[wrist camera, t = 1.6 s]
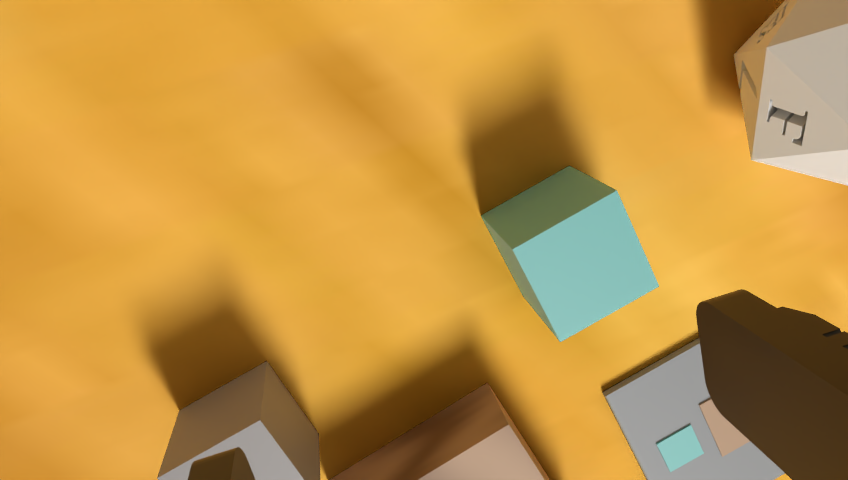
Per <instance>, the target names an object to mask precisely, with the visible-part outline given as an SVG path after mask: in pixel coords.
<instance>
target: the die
mask: <svg viewBox="0 0 848 480" xmlns="http://www.w3.org/2000/svg"><path fill="white" fill-rule="evenodd" d="M734 60H735V66H736V72H737V78H738V84H739V88H740V89H741V92H740V96H741V102H742V108H743V114H744V120H745V126H746V132H747V137H748V143H749V149H750V155H751V160H753V161H757V162H760V163H764V164H768V165H772V166H776V167H779V168H783V169H787V170H791V171H795V172H798V173H802V174H806V175H810V176H814V177H817V178H821V179H825V180H829V181H833V182H836V183H840V184H844V185H848V0H785V1H784V2H783V3H782V4H781V5H780V6H779V7H778V8H777V9H776V10H775V11H774V13H773V14H772V15H771V16H770V17H769V18H768V19H767V20H766V21H765V22H764V23H763V24H762V25H761V26H760V27H759V28H758V30H757V31H756V32H755V33H754V34H753V35H752V36H751V37H750V38H749V39H748V40H747V41H746V42H745V43H744V44H743V45H742V46H741V48H740V49H739V50H738V51H737V52H736V53H735V54H734Z"/></svg>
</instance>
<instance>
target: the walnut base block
mask: <svg viewBox="0 0 848 480" xmlns="http://www.w3.org/2000/svg"><path fill="white" fill-rule="evenodd" d="M330 480H550V479H549V477H548V476H547V474H546V473H545V471H544V469H543V468H542V466H541V465H540V463H539V462H538V460H537V459H536V457H535V455H534V454H533V452H532V451H531V449H530V448H529V446H528V445H527V443H526V441H525V440H524V438H523V437H522V435H521V434H520V432H519V431H518V429H517V427H516V426H515V424H514V423H513V421H512V420H511V418H510V417H509V415H508V413H507V412H506V410H505V409H504V407H503V406H502V404H501V403H500V401H499V400H498V398H497V396H496V395H495V393H494V392H493V390H492V389H491V387H490V386H489V384H488V383H486V384H484V385H483V386H481V387H479V388H478V389H476V390H475V391H473V392H471V393H470V394H468V395H466V396H465V397H463V398H462V399H460V400H458V401H457V402H455V403H453V404H452V405H450V406H449V407H447V408H445V409H444V410H442V411H440V412H439V413H437V414H435V415H434V416H432V417H431V418H429V419H427V420H426V421H424V422H422V423H421V424H419V425H418V426H416V427H414V428H413V429H411V430H409V431H408V432H406V433H405V434H403V435H401V436H400V437H398V438H396V439H395V440H393V441H392V442H390V443H388V444H387V445H385V446H383V447H382V448H380V449H378V450H377V451H375V452H374V453H372V454H370V455H369V456H367V457H365V458H364V459H362V460H361V461H359V462H357V463H356V464H354V465H352V466H351V467H349V468H348V469H346V470H344V471H343V472H341V473H339V474H338V475H336V476H335V477H333V478H331V479H330Z"/></svg>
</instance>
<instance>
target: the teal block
mask: <svg viewBox="0 0 848 480" xmlns="http://www.w3.org/2000/svg"><path fill="white" fill-rule="evenodd" d="M481 217H482V219H483V221H484V223H485V225H486V227H487V228H488V230H489V232H490V234H491V236H492V238H493V240H494V242H495V244H496V246H497V247H498V249H499V251H500V253H501V255H502V257H503V259H504V261H505V263H506V265H507V266H508V268H509V270H510V272H511V274H512V276H513V278H514V280H515V282H516V284H517V285H518V287H519V289H520V291H521V293H522V295H523V297H524V298H525V299H526V300H527V302H528V303H529V304H530V305H531V307H532V308H533V309H534V310H535V312H536V313H537V314H538V315H539V316H540V318H541V319H542V320H543V321H544V323H545V324H546V325H547V326H548V328H549V329H550V330H551V331H552V332H553V334H554V335H555V336H556V337H557V339H558V340H559V341H560V342H561V341H563V340H565V339H567V338H569V337H570V336H572V335H574V334H576V333H577V332H579V331H581V330H583V329H584V328H586V327H588V326H590V325H592V324H593V323H595V322H597V321H599V320H600V319H602V318H604V317H606V316H607V315H609V314H611V313H613V312H615V311H616V310H618V309H620V308H622V307H623V306H625V305H627V304H629V303H630V302H632V301H634V300H636V299H638V298H639V297H641V296H643V295H645V294H646V293H648V292H650V291H652V290H653V289H655V288H657V287H659V285H658V283H657V280H656V278H655V276H654V273H653V271H652V269H651V267H650V264H649V262H648V260H647V258H646V255H645V253H644V251H643V249H642V246H641V244H640V242H639V239H638V237H637V235H636V233H635V230H634V228H633V226H632V224H631V221H630V219H629V217H628V214H627V212H626V210H625V208H624V205H623V203H622V201H621V199H620V196H619V194H618V192H617V190H615V189H613V188H611V187H609V186H607V185H606V184H604V183H602V182H600V181H598V180H596V179H594V178H592V177H590V176H588V175H586V174H585V173H583V172H581V171H579V170H577V169H575V168H573V167H571V166H568V167H566V168H564V169H563V170H561V171H559V172H557V173H555V174H554V175H552V176H550V177H548V178H547V179H545V180H543V181H541V182H540V183H538V184H536V185H534V186H532V187H531V188H529V189H527V190H525V191H524V192H522V193H520V194H518V195H517V196H515V197H513V198H511V199H509V200H508V201H506V202H504V203H502V204H501V205H499V206H497V207H495V208H494V209H492V210H490V211H488V212H486V213H485V214H483V215H481Z"/></svg>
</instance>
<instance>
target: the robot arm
mask: <svg viewBox="0 0 848 480" xmlns="http://www.w3.org/2000/svg"><path fill="white" fill-rule="evenodd" d="M696 316H697V325H698V332H699V340H700V347H701V354H702V362H703V369H704V377H705V383H706V387H707V390H708V393H709V395H710V397H711V399H712V401H713V403H714V405H715V407H716V408H717V410H718V411H719V412H720V413H721V415H722V416H723V417H724V418H725V419H727V420H728V421H729V422H730V423H731V424H732V425H733V426H734V427H735V428H736V429H737V430H739V431H740V432H741V433H742V434H743V435H744V436H745V437H746V438H747V439H748V440H749V441H751V442H752V443H753V444H754V445H755V446H756V447H757V448H758V449H759V450H760V451H762V452H763V453H764V454H765V455H766V456H767V457H768V458H769V459H770V460H771V461H772V462H774V463H775V464H776V465H777V466H778V467H779V468H780V469H781V470H782V471H783V472H785V473H786V474H787V475H788V476H789V477H790V478H791V479H792V480H848V333H847V332H845V331H844V332H841V331H840V329H839V328H838V327H836V326H834V325H832V324H830V323H829V322H827V321H825V320H823V319H821V318H820V317H818V316H816V315H813V314H809V313H805V312H801V311H797V310H793V309H790V308H786V307H780V308H776V307H774V306H772V305H770V304H769V303H767V302H765V301H764V300H762V299H760V298H758V297H757V296H755V295H753V294H752V293H750V292H748V291H746V290H737V291H734V292H731V293H728V294H725V295H722V296H718V297H715V298H712V299H709V300H706V301H703V302H700V303H699V304H698V306H697V311H696ZM188 480H255V477H254V475H253V472H252V470H251V467H250V465H249V462H248V460H247V457H246V455H245V453H244V452H243V450H242V449H241V448H240V447H237V448H233V449H230V450H227V451H224V452H221V453H218V454H214V455H211V456H208V457H205V458H202V459H199V460H195V461H194V462H193V463H192V465H191V468H190V472H189V476H188Z"/></svg>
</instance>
